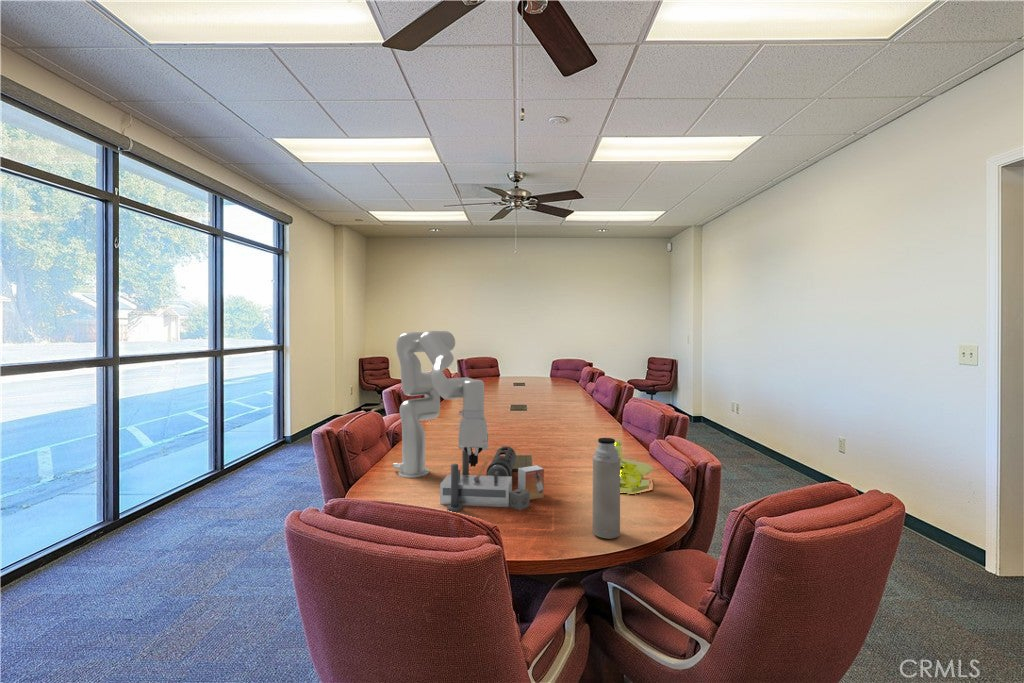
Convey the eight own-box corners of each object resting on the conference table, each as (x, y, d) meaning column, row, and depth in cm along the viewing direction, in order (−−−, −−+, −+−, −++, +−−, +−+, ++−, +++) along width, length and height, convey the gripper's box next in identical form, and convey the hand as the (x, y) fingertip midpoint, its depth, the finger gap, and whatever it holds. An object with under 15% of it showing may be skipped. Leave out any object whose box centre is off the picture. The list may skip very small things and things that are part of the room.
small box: (525, 501, 155) (525, 471, 155) (517, 496, 160) (517, 467, 160) (544, 497, 159) (544, 468, 159) (536, 492, 164) (536, 464, 164)
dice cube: (508, 506, 151) (508, 492, 150) (518, 502, 154) (518, 488, 154) (519, 510, 147) (519, 495, 147) (529, 506, 151) (529, 492, 151)
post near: (445, 511, 146) (445, 466, 146) (449, 505, 151) (449, 462, 151) (460, 512, 145) (460, 467, 145) (463, 506, 150) (463, 462, 150)
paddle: (472, 479, 155) (484, 460, 154) (475, 476, 159) (486, 457, 158) (476, 482, 154) (488, 463, 154) (478, 478, 158) (490, 459, 158)
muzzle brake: (516, 469, 194) (516, 445, 193) (510, 491, 166) (510, 464, 166) (495, 468, 194) (495, 445, 194) (485, 490, 167) (485, 463, 166)
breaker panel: (439, 504, 152) (439, 475, 152) (447, 493, 163) (447, 466, 163) (508, 507, 150) (508, 478, 149) (511, 495, 161) (512, 468, 161)
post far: (457, 492, 164) (457, 452, 164) (460, 487, 169) (460, 449, 169) (470, 493, 163) (470, 452, 163) (473, 488, 168) (473, 449, 168)
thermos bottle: (594, 525, 136) (595, 434, 135) (621, 528, 133) (621, 436, 133) (590, 536, 128) (590, 440, 128) (618, 540, 125) (618, 442, 125)
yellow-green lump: (602, 491, 165) (602, 450, 165) (608, 472, 189) (608, 436, 189) (653, 497, 160) (654, 454, 160) (653, 476, 184) (653, 439, 183)
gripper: (450, 415, 153) (450, 468, 154) (492, 416, 152) (492, 469, 152) (455, 412, 161) (455, 461, 161) (495, 413, 159) (495, 463, 160)
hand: (473, 465), depth 157 cm, fingers closed
